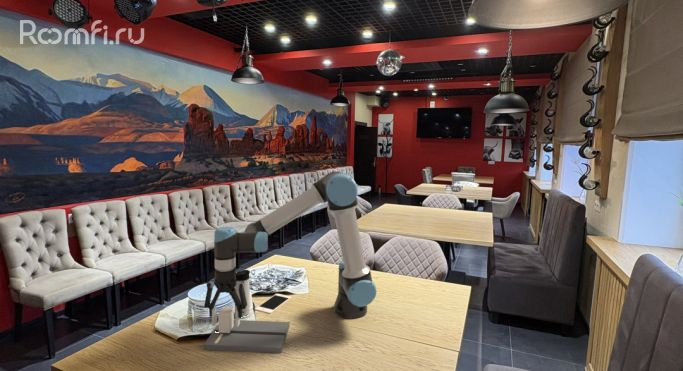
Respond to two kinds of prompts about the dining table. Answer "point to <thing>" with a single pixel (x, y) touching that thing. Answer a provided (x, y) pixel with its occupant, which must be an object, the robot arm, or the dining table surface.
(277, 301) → the cell phone
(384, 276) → the dining table surface
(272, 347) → the slider panel
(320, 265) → the dining table surface
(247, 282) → the travel mug
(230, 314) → the slider handle
